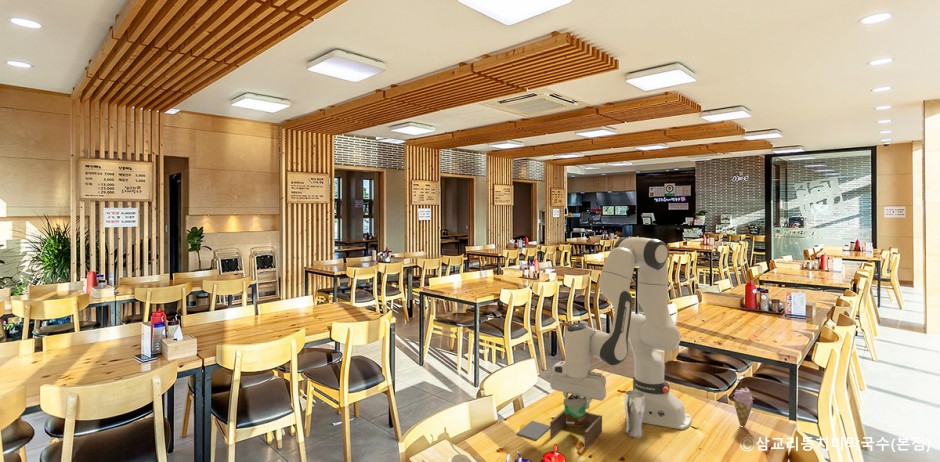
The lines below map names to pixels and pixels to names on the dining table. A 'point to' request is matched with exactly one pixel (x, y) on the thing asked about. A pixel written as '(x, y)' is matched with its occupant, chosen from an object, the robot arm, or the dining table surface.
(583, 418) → the food container
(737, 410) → the ice cream cone
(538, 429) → the rubber mat
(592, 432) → the open box
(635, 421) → the beer glass
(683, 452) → the dining table surface
